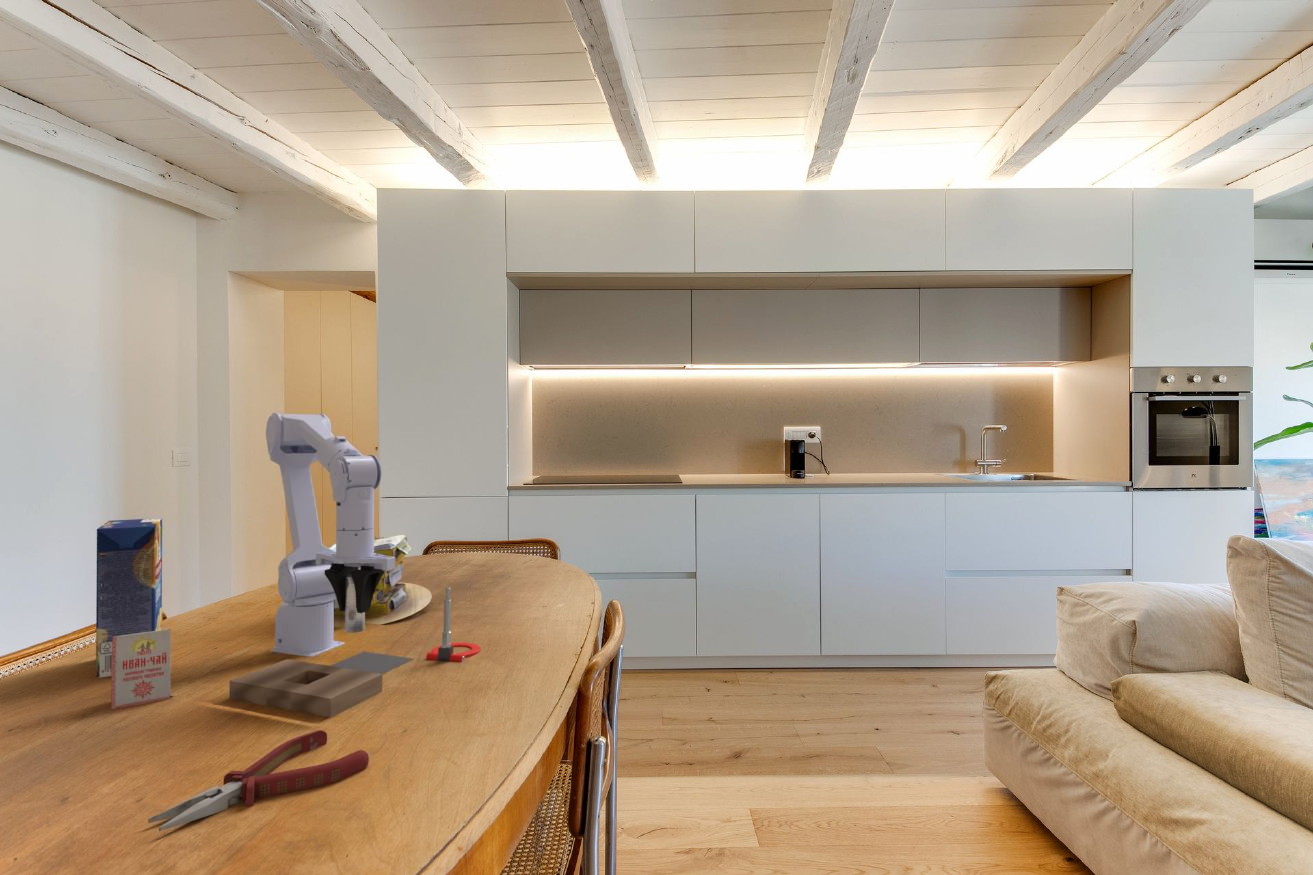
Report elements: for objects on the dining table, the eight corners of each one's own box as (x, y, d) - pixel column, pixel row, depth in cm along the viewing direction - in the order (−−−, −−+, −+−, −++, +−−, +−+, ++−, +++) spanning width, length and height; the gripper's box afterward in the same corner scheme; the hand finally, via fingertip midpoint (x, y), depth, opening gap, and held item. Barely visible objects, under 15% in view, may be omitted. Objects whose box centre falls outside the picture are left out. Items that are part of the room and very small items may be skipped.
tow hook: (445, 647, 124) (420, 661, 115) (447, 578, 124) (423, 587, 115) (487, 650, 123) (466, 665, 113) (489, 580, 123) (468, 589, 114)
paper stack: (390, 631, 132) (390, 548, 132) (282, 623, 137) (282, 543, 136) (450, 601, 156) (451, 531, 156) (357, 595, 161) (357, 527, 161)
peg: (340, 631, 108) (341, 576, 108) (354, 626, 111) (355, 573, 111) (355, 633, 107) (356, 577, 107) (368, 628, 110) (369, 574, 110)
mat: (314, 674, 108) (314, 672, 108) (363, 653, 118) (363, 651, 118) (367, 683, 105) (367, 680, 105) (414, 660, 115) (414, 658, 115)
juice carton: (154, 669, 110) (154, 526, 109) (95, 678, 106) (96, 529, 105) (161, 649, 120) (162, 517, 120) (108, 656, 116) (109, 520, 116)
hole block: (229, 701, 97) (229, 680, 97) (287, 677, 107) (287, 659, 107) (330, 720, 91) (330, 698, 91) (382, 693, 101) (382, 673, 101)
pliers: (131, 817, 69) (132, 792, 69) (321, 744, 85) (322, 724, 85) (176, 859, 62) (177, 831, 62) (373, 771, 79) (373, 749, 79)
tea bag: (113, 701, 97) (113, 633, 97) (170, 690, 101) (170, 625, 101) (111, 709, 94) (111, 640, 94) (170, 698, 98) (170, 631, 98)
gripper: (300, 529, 107) (300, 612, 107) (373, 534, 103) (373, 621, 103) (334, 523, 114) (334, 602, 114) (404, 528, 109) (403, 609, 109)
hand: (354, 610), depth 109 cm, fingers closed on peg, 3 cm apart
